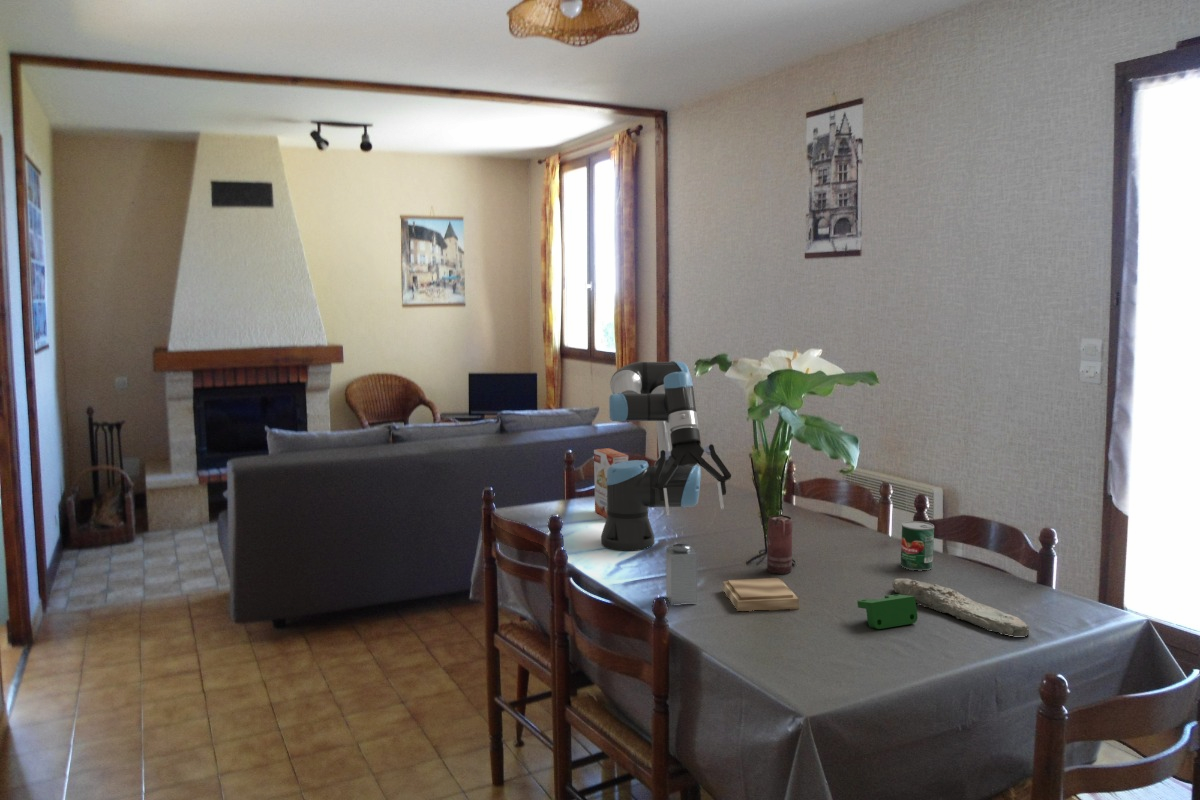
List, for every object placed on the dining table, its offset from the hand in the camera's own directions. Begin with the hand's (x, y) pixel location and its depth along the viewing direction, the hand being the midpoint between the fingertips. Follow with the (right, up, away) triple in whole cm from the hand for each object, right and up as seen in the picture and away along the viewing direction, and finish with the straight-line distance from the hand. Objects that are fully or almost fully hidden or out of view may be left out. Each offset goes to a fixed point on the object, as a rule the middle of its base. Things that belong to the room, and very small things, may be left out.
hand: (695, 511), depth 225 cm
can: (+22, -16, +4) cm, 27 cm away
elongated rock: (+55, -20, -25) cm, 64 cm away
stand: (+13, -18, -17) cm, 28 cm away
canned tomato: (+58, -15, +7) cm, 60 cm away
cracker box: (-20, -9, +61) cm, 65 cm away
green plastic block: (+38, -20, -31) cm, 53 cm away
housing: (-5, -19, -17) cm, 25 cm away
